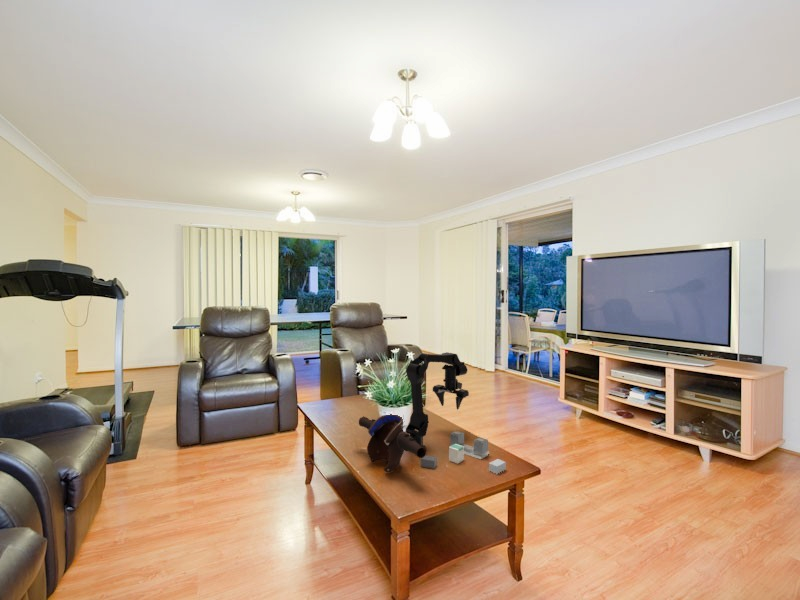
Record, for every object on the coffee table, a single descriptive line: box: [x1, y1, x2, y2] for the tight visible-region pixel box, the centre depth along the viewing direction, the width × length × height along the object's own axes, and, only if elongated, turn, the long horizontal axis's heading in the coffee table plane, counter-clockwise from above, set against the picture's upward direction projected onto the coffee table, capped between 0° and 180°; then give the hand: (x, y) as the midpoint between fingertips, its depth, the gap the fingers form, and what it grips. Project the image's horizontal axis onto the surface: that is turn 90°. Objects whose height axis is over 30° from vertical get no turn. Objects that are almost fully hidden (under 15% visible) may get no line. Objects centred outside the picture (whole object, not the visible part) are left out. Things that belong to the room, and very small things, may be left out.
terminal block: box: [488, 458, 507, 475], centre depth 158 cm, size 6×4×4 cm, turn 129°
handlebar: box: [358, 414, 427, 473], centre depth 163 cm, size 45×13×20 cm, turn 37°
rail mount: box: [448, 430, 490, 460], centre depth 176 cm, size 7×17×7 cm, turn 49°
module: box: [448, 444, 465, 464], centre depth 167 cm, size 5×5×6 cm
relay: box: [420, 454, 438, 470], centre depth 162 cm, size 4×6×4 cm, turn 69°
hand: (450, 407), depth 197 cm, fingers open, 9 cm apart
